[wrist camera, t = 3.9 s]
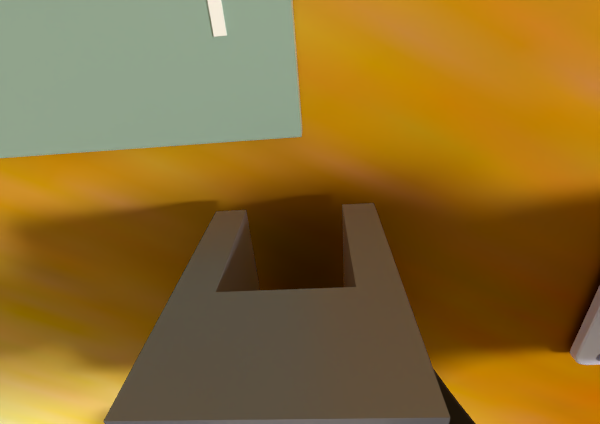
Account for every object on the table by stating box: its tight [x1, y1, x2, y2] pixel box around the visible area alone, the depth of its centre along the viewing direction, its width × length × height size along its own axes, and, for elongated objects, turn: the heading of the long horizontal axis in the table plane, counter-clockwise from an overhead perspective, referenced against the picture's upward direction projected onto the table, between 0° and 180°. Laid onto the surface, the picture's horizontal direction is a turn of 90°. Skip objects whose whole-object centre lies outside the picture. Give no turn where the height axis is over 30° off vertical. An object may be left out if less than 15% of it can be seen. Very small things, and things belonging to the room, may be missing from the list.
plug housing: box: [104, 203, 450, 424], centre depth 9 cm, size 5×8×6 cm, turn 5°
